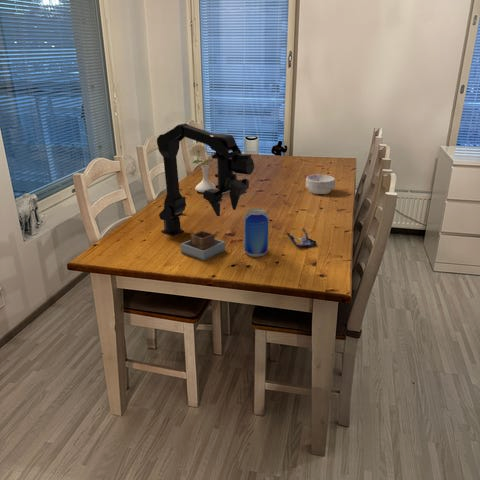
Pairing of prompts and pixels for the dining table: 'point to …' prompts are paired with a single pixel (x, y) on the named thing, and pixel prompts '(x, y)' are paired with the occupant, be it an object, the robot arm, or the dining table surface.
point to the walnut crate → (202, 240)
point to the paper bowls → (320, 184)
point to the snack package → (303, 240)
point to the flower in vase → (205, 183)
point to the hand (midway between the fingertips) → (226, 212)
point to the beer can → (256, 232)
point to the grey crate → (202, 254)
